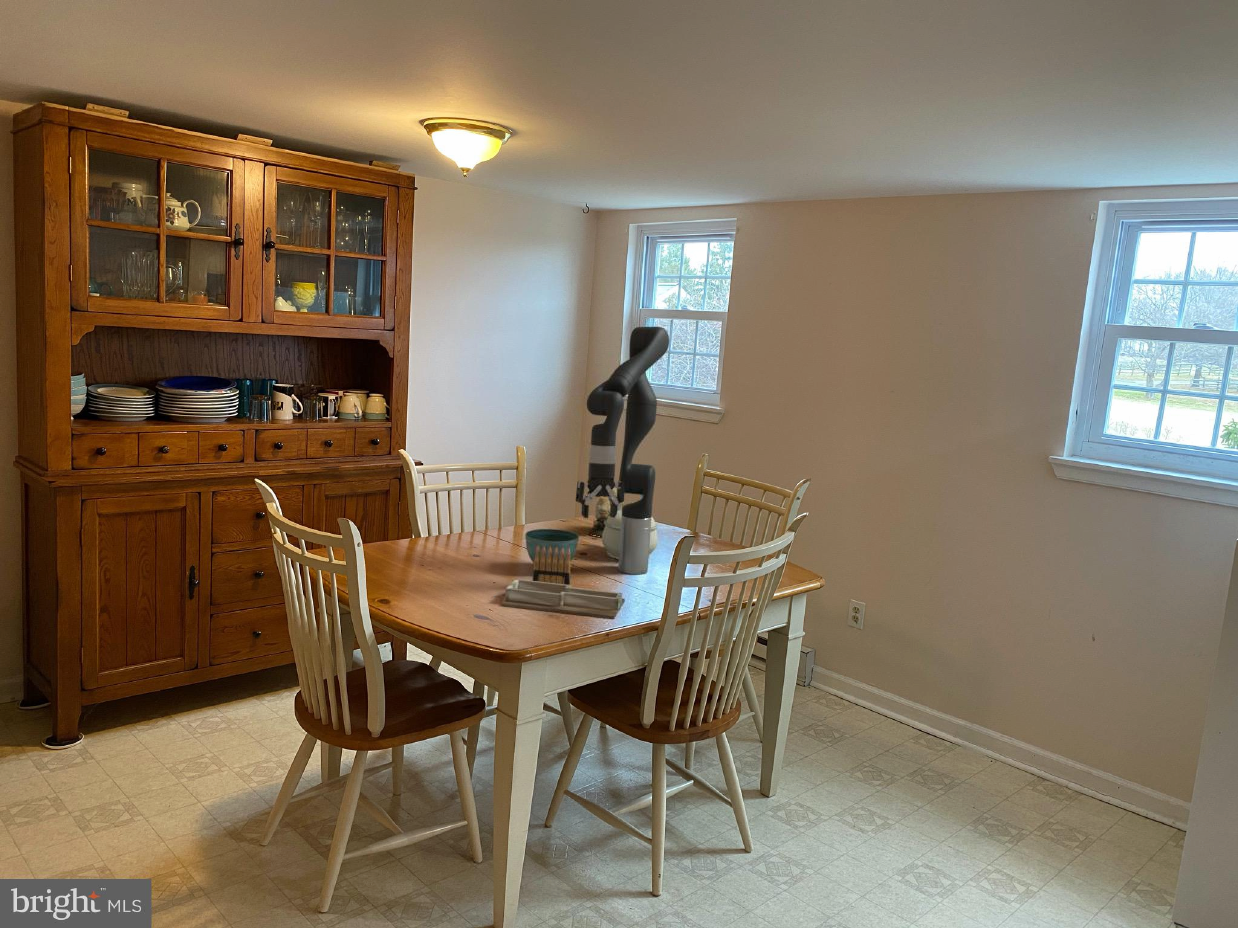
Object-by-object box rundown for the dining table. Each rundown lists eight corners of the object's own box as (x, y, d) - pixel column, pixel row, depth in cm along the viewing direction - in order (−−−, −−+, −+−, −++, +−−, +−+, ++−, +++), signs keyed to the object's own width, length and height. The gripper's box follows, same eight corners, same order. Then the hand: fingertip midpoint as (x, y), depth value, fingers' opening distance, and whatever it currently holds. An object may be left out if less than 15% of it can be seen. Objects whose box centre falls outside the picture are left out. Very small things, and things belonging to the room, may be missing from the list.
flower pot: (569, 579, 270) (571, 543, 268) (516, 573, 273) (518, 537, 272) (582, 566, 286) (584, 532, 284) (532, 560, 289) (534, 526, 287)
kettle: (667, 563, 296) (673, 487, 292) (614, 565, 289) (620, 487, 285) (637, 544, 319) (642, 474, 315) (588, 546, 312) (592, 474, 308)
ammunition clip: (531, 587, 260) (533, 545, 258) (533, 585, 261) (535, 544, 260) (569, 590, 259) (571, 549, 257) (570, 588, 260) (572, 547, 259)
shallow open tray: (518, 589, 256) (519, 576, 256) (624, 601, 252) (625, 588, 251) (501, 605, 241) (502, 591, 240) (614, 618, 236) (615, 604, 235)
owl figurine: (602, 526, 344) (605, 481, 342) (631, 531, 340) (635, 486, 338) (582, 535, 328) (585, 488, 325) (613, 540, 323) (616, 492, 321)
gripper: (618, 460, 268) (615, 515, 270) (574, 459, 262) (571, 515, 264) (630, 462, 262) (627, 519, 263) (584, 462, 255) (581, 520, 257)
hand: (599, 517), depth 263 cm, fingers open, 8 cm apart
